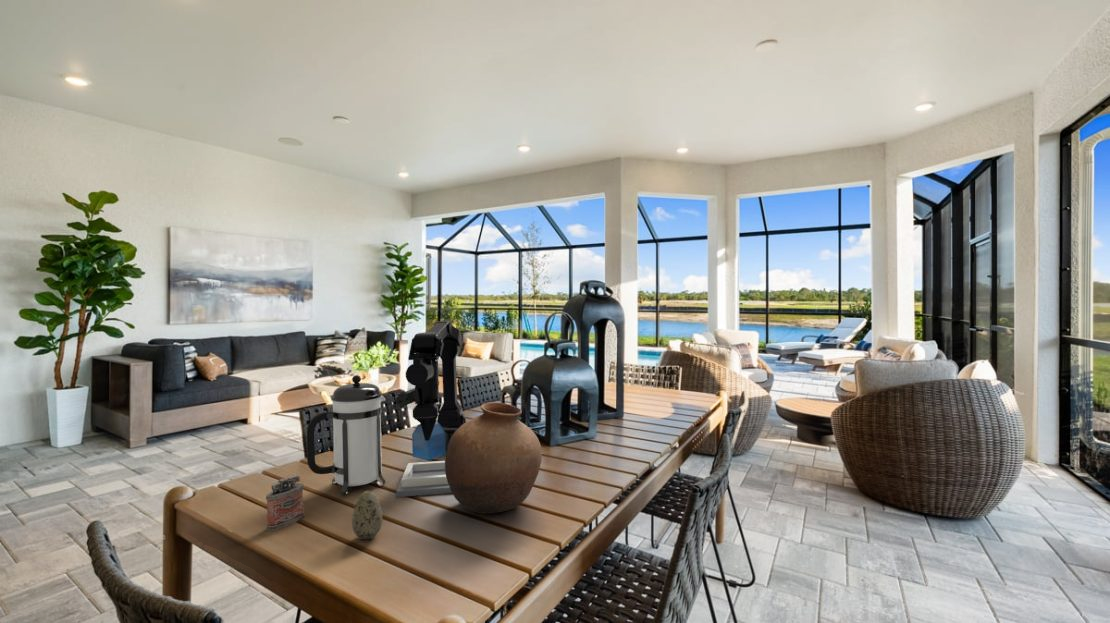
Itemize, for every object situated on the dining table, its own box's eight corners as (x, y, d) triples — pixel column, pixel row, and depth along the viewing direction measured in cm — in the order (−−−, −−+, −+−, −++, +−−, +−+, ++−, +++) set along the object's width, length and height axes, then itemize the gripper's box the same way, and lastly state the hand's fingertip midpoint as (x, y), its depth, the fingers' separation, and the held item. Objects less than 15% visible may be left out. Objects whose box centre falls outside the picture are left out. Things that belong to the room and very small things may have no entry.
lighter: (271, 531, 105) (270, 486, 105) (263, 528, 107) (262, 483, 107) (307, 517, 112) (306, 474, 112) (299, 514, 114) (298, 472, 114)
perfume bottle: (445, 454, 134) (444, 411, 134) (428, 460, 129) (427, 415, 128) (429, 450, 137) (428, 408, 137) (412, 456, 132) (411, 413, 132)
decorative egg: (361, 530, 105) (360, 485, 105) (387, 531, 105) (386, 486, 104) (346, 544, 99) (345, 496, 99) (374, 545, 99) (373, 497, 98)
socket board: (406, 472, 141) (405, 460, 141) (458, 468, 143) (458, 457, 143) (396, 497, 123) (395, 483, 123) (456, 492, 126) (455, 479, 125)
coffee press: (347, 472, 141) (345, 370, 140) (397, 476, 138) (395, 371, 137) (305, 496, 124) (303, 380, 123) (361, 501, 121) (359, 381, 120)
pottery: (437, 498, 122) (436, 400, 122) (523, 483, 131) (522, 392, 131) (456, 538, 101) (454, 420, 101) (557, 517, 110) (556, 409, 110)
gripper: (402, 375, 140) (403, 428, 141) (391, 386, 122) (392, 447, 122) (441, 373, 142) (442, 426, 143) (436, 384, 124) (437, 445, 124)
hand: (428, 435), depth 133 cm, fingers closed on perfume bottle, 9 cm apart
